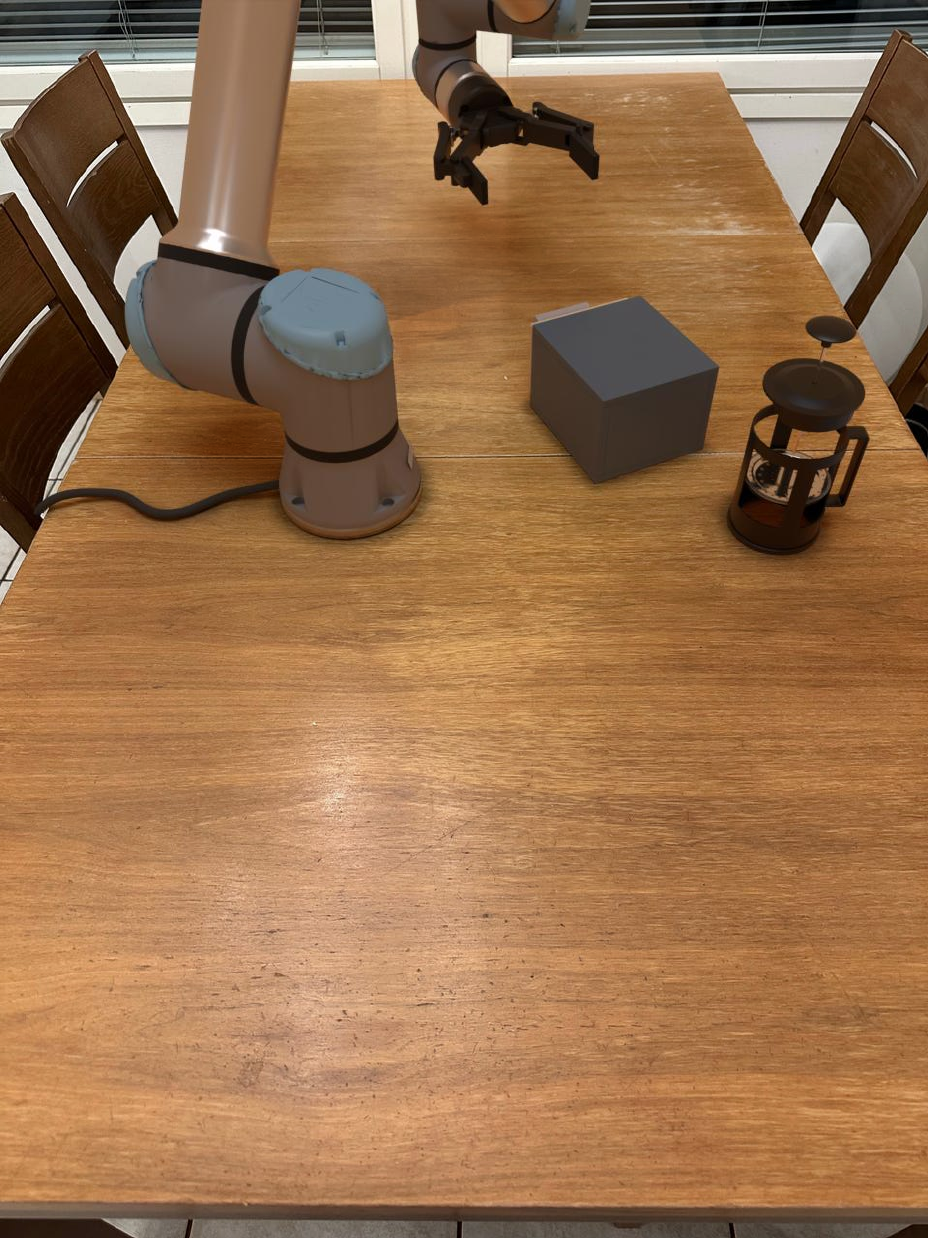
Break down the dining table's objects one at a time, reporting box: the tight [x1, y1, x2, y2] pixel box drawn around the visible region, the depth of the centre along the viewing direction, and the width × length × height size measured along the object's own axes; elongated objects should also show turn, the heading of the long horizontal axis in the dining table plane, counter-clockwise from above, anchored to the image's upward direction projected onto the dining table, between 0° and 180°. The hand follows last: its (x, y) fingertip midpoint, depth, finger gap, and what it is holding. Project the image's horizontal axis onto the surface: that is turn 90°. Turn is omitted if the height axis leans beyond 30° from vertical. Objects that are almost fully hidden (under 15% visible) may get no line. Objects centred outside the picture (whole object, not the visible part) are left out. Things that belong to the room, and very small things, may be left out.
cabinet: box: [529, 295, 720, 485], centre depth 105 cm, size 16×14×11 cm
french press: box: [726, 315, 870, 556], centre depth 89 cm, size 12×9×23 cm
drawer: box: [527, 297, 629, 392], centre depth 108 cm, size 19×13×9 cm, turn 25°
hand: (541, 180), depth 107 cm, fingers open, 13 cm apart
